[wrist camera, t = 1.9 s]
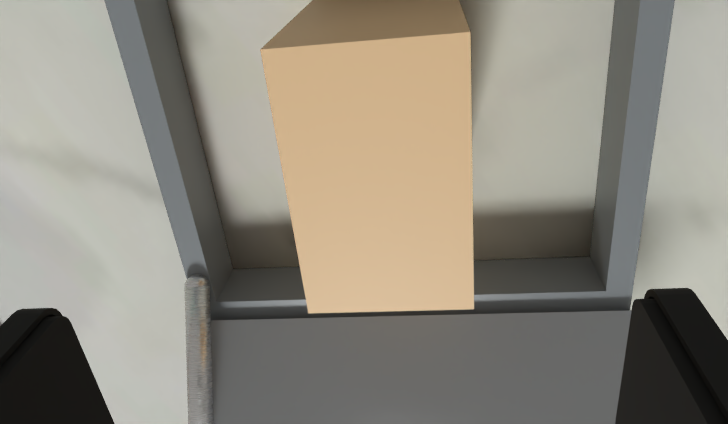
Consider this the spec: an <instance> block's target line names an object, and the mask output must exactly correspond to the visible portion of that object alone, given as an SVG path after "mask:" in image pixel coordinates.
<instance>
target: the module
mask: <svg viewBox="0 0 728 424" xmlns="http://www.w3.org/2000/svg"><path fill="white" fill-rule="evenodd" d="M260 51H261V56H262V62H263V67H264V73H265V78H266V84H267V89H268V94H269V100H270V105H271V111H272V116H273V122H274V127H275V133H276V138H277V144H278V149H279V155H280V160H281V166H282V171H283V177H284V182H285V188H286V193H287V199H288V204H289V210H290V215H291V221H292V226H293V232H294V237H295V243H296V248H297V254H298V259H299V265H300V270H301V276H302V281H303V287H304V292H305V298H306V303H307V309H308V313H346V312H386V311H427V310H467V309H474V261H473V185H472V110H471V34H470V29H469V26H468V24H467V21H466V18H465V15H464V13H463V10H462V7H461V4H460V2H459V0H312V1H311V2H310V3H309V4H308V5H307V6H306V7H305V8H304V9H303V10H302V11H301V12H300V13H299V14H298V15H297V16H295V17H294V18H293V19H292V20H291V21H290V22H289V23H288V24H287V25H286V26H285V27H284V28H283V29H282V30H281V31H280V32H278V33H277V34H276V35H275V36H274V37H273V38H272V39H271V40H270V41H269V42H268V43H267V44H266V45H265V46H264V47H263V48H261V49H260Z"/></svg>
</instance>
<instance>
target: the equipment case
mask: <svg viewBox="0 0 728 424" xmlns="http://www.w3.org/2000/svg"><path fill="white" fill-rule="evenodd" d="M674 1H675V0H615V7H614V17H613V27H612V37H611V47H610V57H609V68H608V78H607V88H606V98H605V108H604V118H603V128H602V138H601V148H600V159H599V169H598V179H597V189H596V199H595V209H594V219H593V229H592V239H591V250H590V257H565V258H536V259H508V260H479V261H474V309H467V310H427V311H386V312H346V313H308V309H307V303H306V298H305V292H304V287H303V281H302V276H301V270H300V267H280V268H252V269H233V268H232V263H231V259H230V255H229V251H228V247H227V243H226V239H225V235H224V231H223V227H222V223H221V219H220V215H219V211H218V207H217V203H216V199H215V195H214V191H213V187H212V183H211V179H210V175H209V171H208V167H207V163H206V159H205V155H204V151H203V147H202V142H201V138H200V134H199V130H198V126H197V122H196V118H195V114H194V110H193V106H192V102H191V98H190V94H189V90H188V86H187V82H186V78H185V74H184V70H183V66H182V62H181V58H180V54H179V50H178V46H177V42H176V38H175V34H174V30H173V26H172V22H171V17H170V13H169V9H168V5H167V1H166V0H105V4H106V7H107V10H108V14H109V17H110V21H111V24H112V27H113V31H114V34H115V37H116V41H117V44H118V48H119V51H120V54H121V58H122V61H123V65H124V68H125V71H126V75H127V78H128V81H129V85H130V88H131V92H132V95H133V98H134V102H135V105H136V108H137V112H138V115H139V119H140V122H141V125H142V129H143V132H144V136H145V139H146V142H147V146H148V149H149V152H150V156H151V159H152V163H153V166H154V169H155V173H156V176H157V180H158V183H159V186H160V190H161V193H162V196H163V200H164V203H165V207H166V210H167V213H168V217H169V220H170V223H171V227H172V230H173V234H174V237H175V240H176V244H177V247H178V251H179V254H180V257H181V261H182V264H183V267H184V271H185V274H186V278H187V280H186V282H185V319H186V357H187V394H188V424H615V420H616V413H617V406H618V399H619V393H620V386H621V379H622V372H623V366H624V359H625V352H626V345H627V339H628V332H629V325H630V318H631V312H632V310H630V305H631V298H632V291H633V284H634V277H635V270H636V263H637V256H638V250H639V243H640V236H641V229H642V222H643V215H644V208H645V201H646V194H647V187H648V181H649V174H650V167H651V160H652V153H653V146H654V139H655V132H656V125H657V118H658V111H659V105H660V98H661V91H662V84H663V77H664V70H665V63H666V56H667V49H668V42H669V36H670V29H671V22H672V15H673V8H674Z"/></svg>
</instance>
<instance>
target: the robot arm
mask: <svg viewBox="0 0 728 424" xmlns="http://www.w3.org/2000/svg"><path fill="white" fill-rule="evenodd" d="M0 424H114V422H113V419H112V417H111V415H110V412H109V410H108V408H107V405H106V403H105V401H104V398H103V396H102V394H101V392H100V389H99V387H98V385H97V382H96V380H95V378H94V375H93V373H92V371H91V368H90V366H89V364H88V361H87V359H86V357H85V354H84V352H83V350H82V347H81V345H80V343H79V340H78V338H77V336H76V333H75V331H74V329H73V327H72V324H71V322H70V321H69V319H68V318H66V317H64V316H62V314H61V313H60V312H59V311H58V310H57V309H53V308H38V309H21V310H17V311H16V312H15V313H13V314H12V315H11V316H10V317H9V318H8V319H7V320H6V321H5V322H4V323H3V324H2V325H1V326H0ZM615 424H728V340H727V339H726V337H725V336H724V334H723V333H722V331H721V330H720V329H719V327H718V326H717V324H716V323H715V321H714V320H713V318H712V317H711V316H710V314H709V313H708V311H707V310H706V308H705V307H704V306H703V304H702V303H701V301H700V300H699V298H698V297H697V296H696V294H695V293H694V292H693V291H692V290H691V289H689V288H673V289H650V290H648V291H647V292H646V294H645V297H644V299H636V300H635V301H634V302H633V306H632V312H631V318H630V325H629V332H628V339H627V345H626V352H625V359H624V366H623V372H622V379H621V386H620V393H619V399H618V406H617V413H616V420H615Z"/></svg>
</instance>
